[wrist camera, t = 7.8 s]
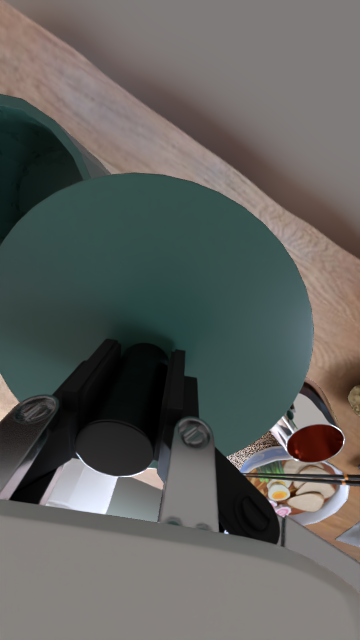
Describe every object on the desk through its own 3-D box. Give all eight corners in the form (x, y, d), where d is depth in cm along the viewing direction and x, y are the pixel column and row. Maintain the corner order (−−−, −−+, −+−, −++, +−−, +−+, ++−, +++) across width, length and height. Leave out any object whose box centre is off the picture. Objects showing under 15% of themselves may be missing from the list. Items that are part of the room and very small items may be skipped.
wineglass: (284, 333, 36) (369, 414, 19) (277, 371, 39) (345, 471, 22) (238, 333, 36) (280, 413, 19) (234, 371, 39) (268, 469, 22)
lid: (195, 481, 16) (198, 611, 11) (-21, 387, 14) (-172, 491, 8) (374, 305, 11) (598, 383, 5) (55, 84, 8) (-301, -333, 2)
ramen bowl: (217, 487, 52) (222, 529, 44) (225, 420, 44) (233, 458, 36) (316, 492, 51) (338, 536, 43) (344, 426, 43) (377, 466, 35)
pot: (102, 290, 34) (67, 309, 24) (5, 235, 32) (-79, 232, 22) (146, 193, 29) (124, 167, 19) (33, 117, 26) (-62, 42, 16)
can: (110, 445, 48) (61, 574, 29) (67, 416, 45) (-18, 538, 27) (145, 419, 45) (114, 547, 26) (101, 385, 42) (30, 501, 23)
